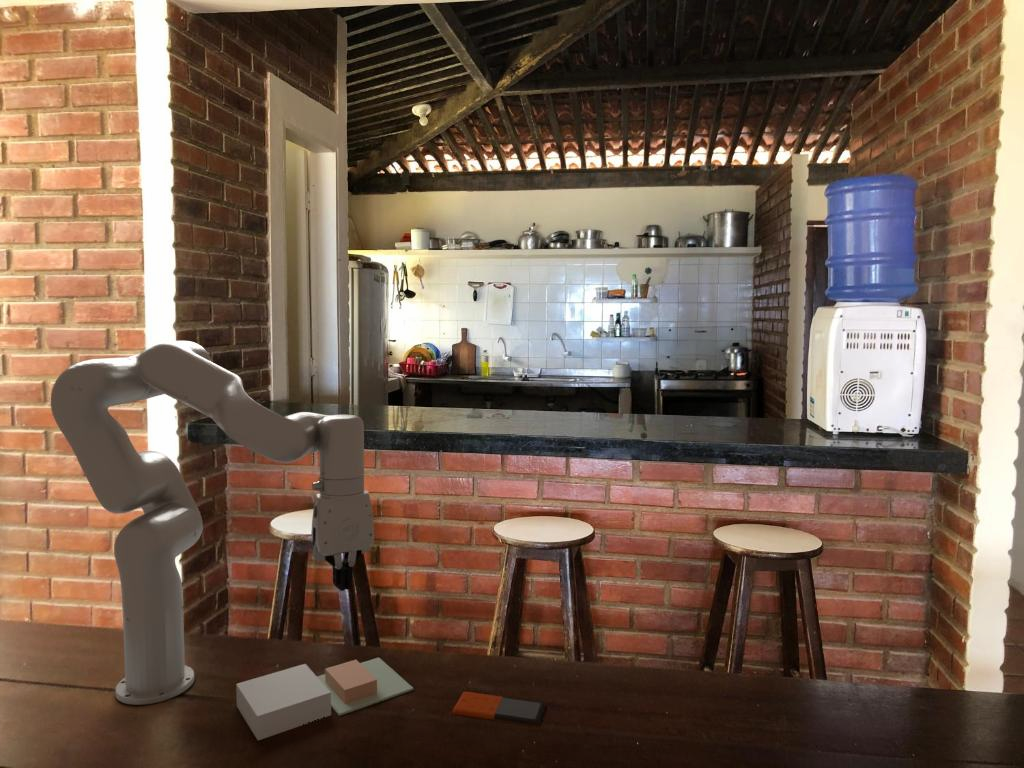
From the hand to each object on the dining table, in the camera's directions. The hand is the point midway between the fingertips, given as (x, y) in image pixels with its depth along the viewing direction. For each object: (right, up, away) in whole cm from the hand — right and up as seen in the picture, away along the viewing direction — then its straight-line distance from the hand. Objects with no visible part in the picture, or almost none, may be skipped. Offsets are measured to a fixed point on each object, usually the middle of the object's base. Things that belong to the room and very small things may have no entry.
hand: (342, 587), depth 120 cm
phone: (+28, -20, -4) cm, 35 cm away
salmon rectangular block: (+1, -16, +2) cm, 16 cm away
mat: (+2, -19, +3) cm, 19 cm away
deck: (-9, -19, -5) cm, 22 cm away
